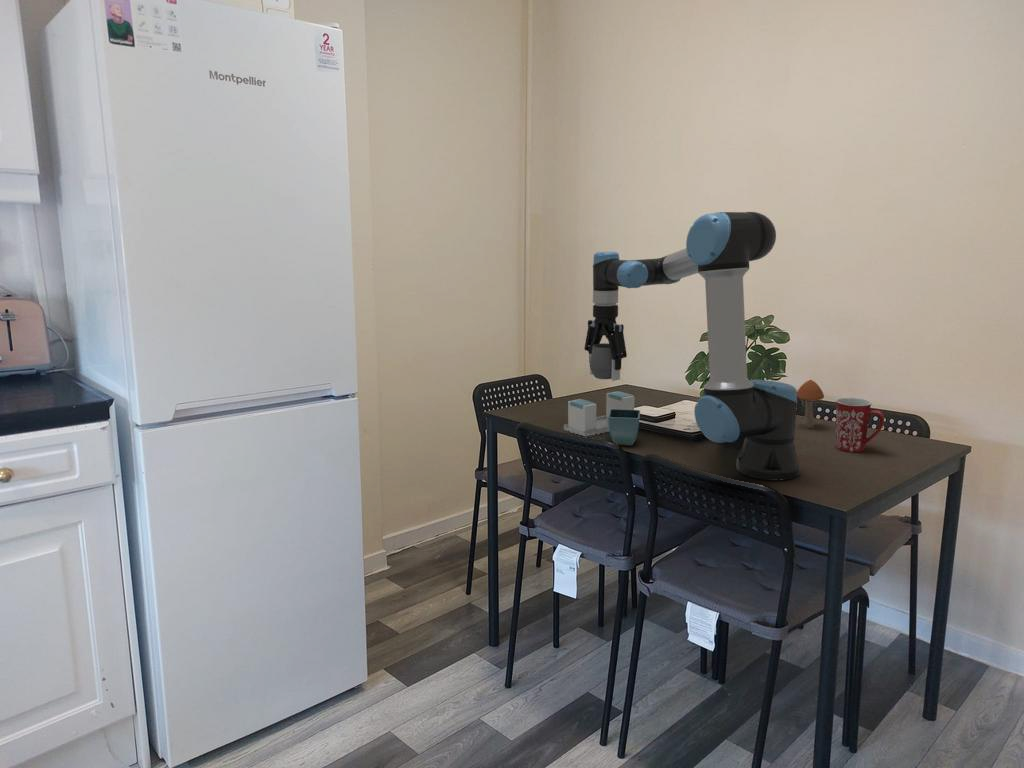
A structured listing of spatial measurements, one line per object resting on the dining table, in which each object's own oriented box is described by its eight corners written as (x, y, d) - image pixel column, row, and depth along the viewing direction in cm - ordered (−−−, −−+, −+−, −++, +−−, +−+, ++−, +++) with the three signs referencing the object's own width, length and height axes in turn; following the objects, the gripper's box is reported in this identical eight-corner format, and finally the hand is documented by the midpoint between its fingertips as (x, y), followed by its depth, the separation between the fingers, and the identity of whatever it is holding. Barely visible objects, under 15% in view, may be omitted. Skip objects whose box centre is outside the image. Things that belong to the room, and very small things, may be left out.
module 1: (596, 429, 215) (596, 403, 213) (584, 432, 212) (584, 406, 210) (579, 423, 221) (579, 398, 219) (568, 426, 219) (568, 400, 217)
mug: (825, 448, 197) (829, 401, 194) (840, 441, 202) (844, 395, 199) (872, 459, 187) (877, 409, 184) (886, 451, 193) (891, 403, 190)
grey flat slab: (638, 424, 223) (638, 419, 223) (584, 437, 211) (584, 432, 211) (617, 417, 231) (617, 412, 231) (563, 429, 219) (563, 424, 219)
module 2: (634, 420, 223) (634, 395, 221) (623, 423, 221) (623, 397, 219) (616, 415, 230) (617, 390, 228) (606, 417, 227) (606, 392, 225)
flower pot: (639, 448, 200) (639, 418, 198) (607, 447, 202) (607, 417, 200) (639, 439, 209) (640, 409, 207) (609, 438, 211) (609, 408, 208)
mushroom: (794, 430, 213) (797, 381, 210) (792, 422, 221) (795, 376, 217) (823, 432, 211) (827, 383, 208) (820, 424, 218) (823, 377, 215)
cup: (606, 382, 211) (606, 349, 209) (583, 377, 218) (583, 345, 215) (626, 377, 217) (627, 345, 215) (603, 372, 224) (603, 341, 222)
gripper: (640, 306, 205) (638, 381, 210) (591, 299, 223) (591, 369, 228) (621, 309, 201) (619, 385, 206) (572, 301, 219) (572, 372, 224)
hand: (604, 376), depth 217 cm, fingers closed on cup, 9 cm apart
